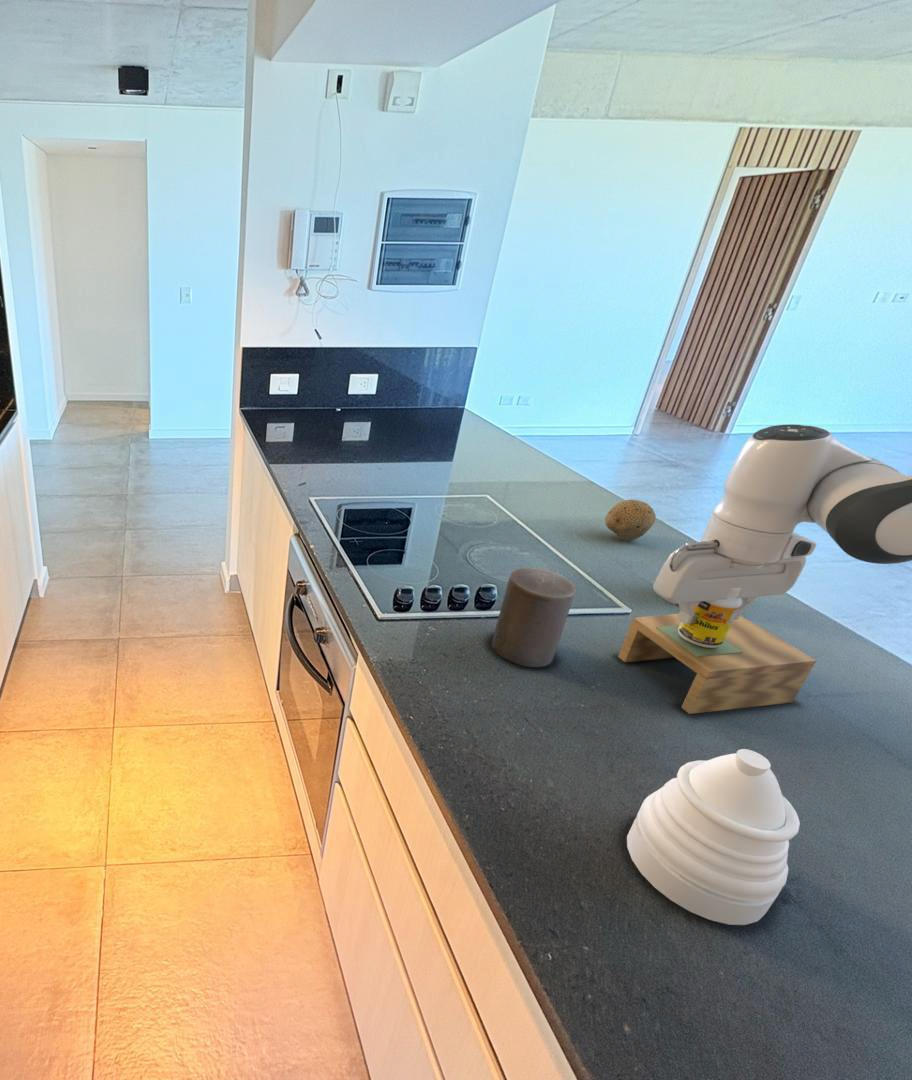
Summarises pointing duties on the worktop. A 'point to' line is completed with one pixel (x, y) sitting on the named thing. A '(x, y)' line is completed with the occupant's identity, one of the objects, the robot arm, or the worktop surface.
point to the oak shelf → (723, 663)
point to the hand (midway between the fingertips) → (706, 620)
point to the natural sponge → (630, 519)
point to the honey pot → (717, 838)
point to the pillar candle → (532, 616)
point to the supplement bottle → (712, 621)
